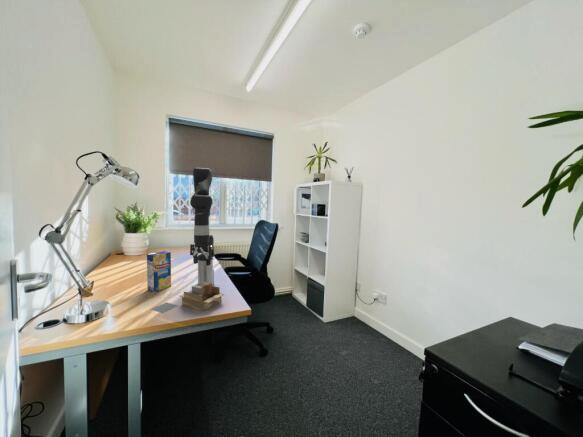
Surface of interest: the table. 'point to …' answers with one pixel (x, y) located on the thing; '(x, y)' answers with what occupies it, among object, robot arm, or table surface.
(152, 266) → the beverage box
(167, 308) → the felt mat
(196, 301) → the kraft carton
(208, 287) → the walnut block
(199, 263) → the robot arm
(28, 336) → the table surface
